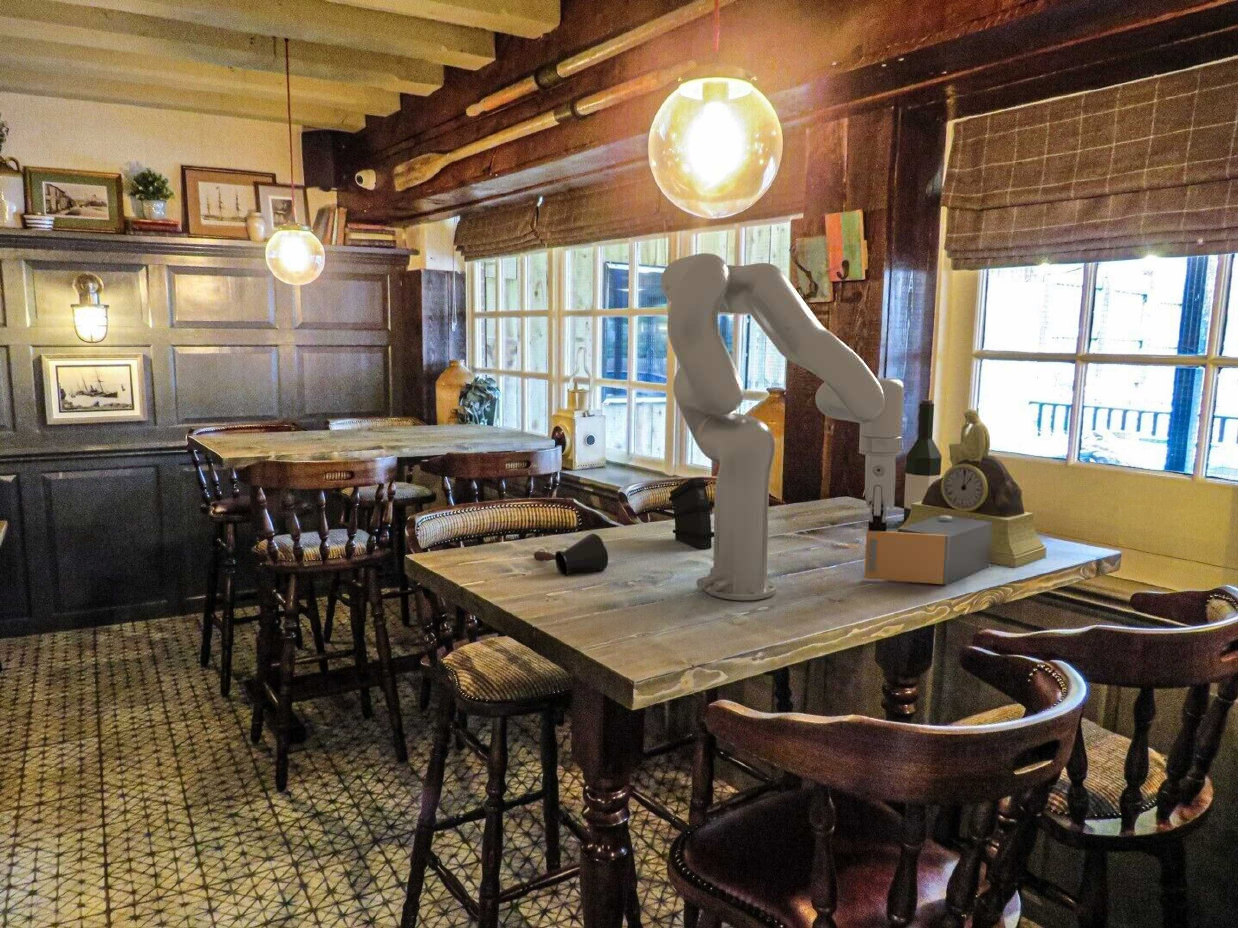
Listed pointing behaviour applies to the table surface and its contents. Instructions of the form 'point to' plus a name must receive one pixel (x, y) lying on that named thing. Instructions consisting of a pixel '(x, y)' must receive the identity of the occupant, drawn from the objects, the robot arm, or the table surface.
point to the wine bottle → (922, 460)
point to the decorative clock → (982, 498)
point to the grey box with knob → (959, 542)
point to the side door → (907, 557)
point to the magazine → (692, 514)
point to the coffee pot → (579, 556)
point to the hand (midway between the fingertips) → (877, 541)
